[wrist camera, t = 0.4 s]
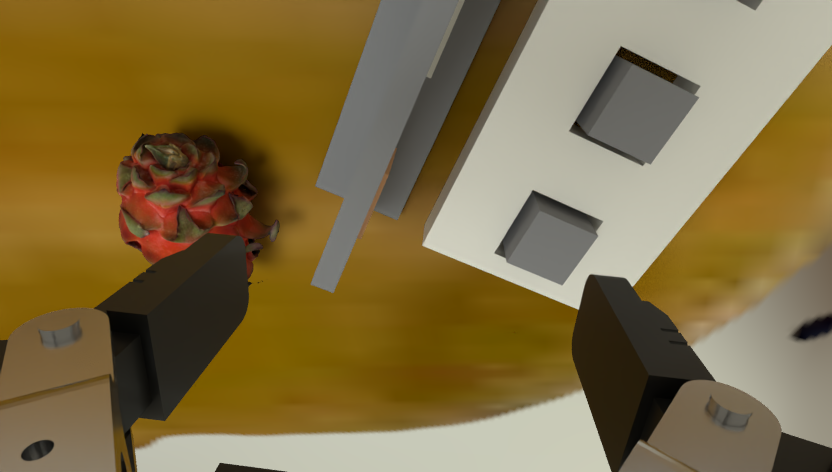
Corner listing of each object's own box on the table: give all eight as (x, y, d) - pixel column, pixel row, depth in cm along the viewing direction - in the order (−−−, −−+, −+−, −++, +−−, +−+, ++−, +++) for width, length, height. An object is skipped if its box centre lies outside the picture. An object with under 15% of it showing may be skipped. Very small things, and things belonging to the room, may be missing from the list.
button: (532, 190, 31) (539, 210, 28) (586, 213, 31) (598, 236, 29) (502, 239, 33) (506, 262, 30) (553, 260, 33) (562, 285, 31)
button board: (653, -229, 22) (680, -256, 19) (890, -86, 24) (944, -92, 21) (424, 224, 34) (422, 245, 32) (594, 294, 36) (605, 320, 34)
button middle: (615, 54, 27) (632, 63, 24) (675, 85, 27) (699, 97, 25) (575, 119, 28) (587, 135, 26) (632, 147, 29) (650, 164, 26)
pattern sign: (498, -323, 21) (536, -569, 11) (616, -252, 22) (744, -425, 12) (318, 180, 33) (264, 266, 24) (398, 213, 34) (377, 309, 24)
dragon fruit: (192, 92, 32) (275, 229, 39) (65, 153, 30) (178, 289, 37) (222, 112, 26) (316, 272, 33) (63, 193, 23) (201, 348, 30)
